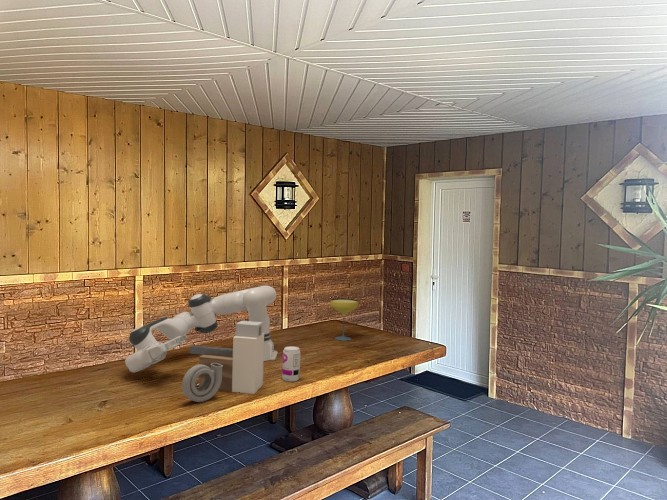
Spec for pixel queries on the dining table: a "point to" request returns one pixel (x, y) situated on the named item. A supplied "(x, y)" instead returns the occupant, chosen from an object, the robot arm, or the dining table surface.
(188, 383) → the turbocharger housing
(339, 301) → the cocktail glass
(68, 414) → the dining table surface
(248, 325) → the stand
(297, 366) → the supplement can
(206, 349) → the metal bar
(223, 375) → the step
